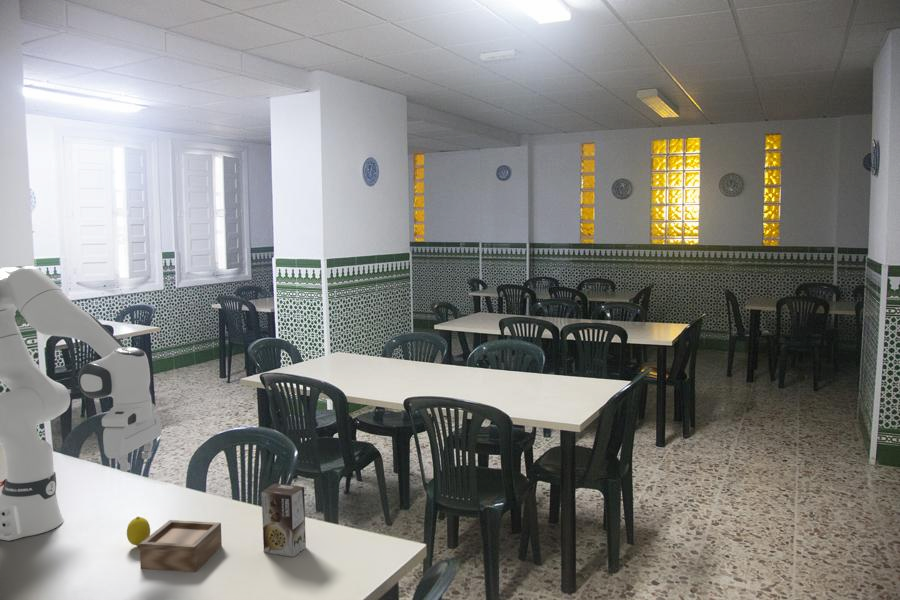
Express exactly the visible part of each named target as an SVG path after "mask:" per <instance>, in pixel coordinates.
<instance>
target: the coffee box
mask: <svg viewBox="0 0 900 600" xmlns="http://www.w3.org/2000/svg"><path fill="white" fill-rule="evenodd" d="M260 494H261V511H262V512H261V515H262V538H263V539H262V540H263V542H262V543H263V553H267V554H271V555H272V554H274V555H278V554H279V555H280V556H284V557H291V558H293V557H295V556H297V555H298V554H300V553H301V552H302V551H303V550H304V549H306V548H305V547H307V545H306V544H307V543H306V539H307V538H306V510H305V509H306V506H305V500H306V499H305V486H300V485H293V484H292V485H291V484H285V483H284V484H283V483H273V484H271V485H270V486H268V487H267V488H265V489H264V490H263V491H261V493H260ZM300 551H301V552H300Z"/></svg>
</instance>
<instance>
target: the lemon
mask: <svg viewBox="0 0 900 600" xmlns="http://www.w3.org/2000/svg"><path fill="white" fill-rule="evenodd" d="M150 535H151V527H150V523H149V521H148V520H147V519H146V518H145V517H141V516H136V517H135V518H133V519H132V520H130V521H129V523H128V525H127V528H126V537H127V541H128V542H129V543H130V544H131V545H132V546H136V547H138V548H140V543H141V542H142V541H144V540H145V539H146V538H148V537H149V536H150Z"/></svg>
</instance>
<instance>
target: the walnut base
mask: <svg viewBox="0 0 900 600" xmlns="http://www.w3.org/2000/svg"><path fill="white" fill-rule="evenodd" d="M222 543H223V542H222V522H212V521H210V522H209V521H198V520H197V521H196V520H195V521H194V520H180V519H179V520H176V519H174V520H173V519H169V520H168V521H167V522H165V523H164V524H163V525H161V526H160V527H159V528H158V529H156V530H155V531H153V532H152V533H150V536H149V537H148V538H146V539H145V540H144V541H142V542H141V543H140V547H139V563H140V564H139V565H140V569H142V568H145V569H144V570H160V571H173V572H192V573H196V572H197V571H198V570H199V569H200V568H201V567H202V566H203V565H204V564H205V563H206V562H207V561H208V560H209V559H210V558H211V557H212V556H213V555H214V554H215V553H216V552H217V551H218V550H219V549H220V548H221V547H222V545H223V544H222Z"/></svg>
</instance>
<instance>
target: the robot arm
mask: <svg viewBox="0 0 900 600" xmlns="http://www.w3.org/2000/svg"><path fill="white" fill-rule="evenodd" d="M17 311H18V312H19V313H20V315H21V316H22V317H23V319H24V320H25V321H26V322H27V324H28V325H29V326H30V327H32V328H33V329H34V330H35V331H37V332H38V333H40V334H42V335H45V336H50V337H51V336H52V337H63V338H64V337H65V338H69V339H70V338H71V339H74V340H75V339H76V340H79V341H82V342H84V343H85V344H87V345H88V346H90V348H92V350H94V352H96V353H97V354H98V355H99V356H100V357H101V358H100V359H97V360H93V361H91V362H89V363H86V364H84V365H82V367H81V368H80V370H79V372H78V376H77V385H78V387H79V390H80V391H81V392H82V394H83V395H84V396H85V397H87V398H89V399H92V400H93V399H98V400H99V399H104V398H107V397H111V398H112V400H113V401H112V402H113V403H112V405H113V406H112V407H111V408H110V410H109V411H108V412H107V413H106V414H105V415H104V416H103V417H102V418H101V426H102V427H103V428H104V427H105V428H104V429H103V432H102V433H103V434H102V440H103V441H102V442H103V443H102V444H103V452H104V455H105V456H106V458H108V459H116V461H117V462H118V464H119V467H120V471H121V472H127V471H129V470H130V469H131V462H128V458H129V457H128V454H130V453H131V452H134V451H136V450H137V449H139V448H140V447H142V446H143V451H142V452H141V459H143V460H149V459H150V458H151V457H152V449H153V446H154V440H155V439H157V438H159V437H161V436H162V433H163V432H162V431H163V428H162V421H161V415H160V412H159V411H158V408H157V405H155V404H154V403H153V401H152V395H151V391H150V385H151V370H150V364H149V359H148V356H147V354H146V352H145V351H144V350H142V349H141V348H139V347H134V346H133V347H132V346H125V345H124V344H123V343H122V342H121V341H120V340H119V339H118V338H117V337H116V336H115V335H114V334H113V333H112V332H111V331H110V330H109V329H108V328H107V327H106V326H105V325H103V324H102V322H100V321H99V320H98V319H97V318H96V317H95V316H93V315H92V314H91V313H89V312H87V311H86V310H84V309H82V308H81V307H80V306H78V305H77V304H76V303H75V302H73V301H72V300H71V299H70V298H69V297H68V296H67V295H66V294H65V293H64V292H63V290H62V289H61V288H60V287H59V285H58V284H56V283H55V281H53V280H52V278H50V277H49V276H48V275H47V274H46V273H45V272H44V271H43V270H41V269H39V267H36V266H29V265H28V266H22V265H21V266H15V267H11V266H10V267H9V266H8V267H0V383H2V384H3V385H4V386H5V387H6V388H7V389H8V390H9V391H5V392H2V393H0V445H1V448H2V451H3V455H4V459H5V461H4V462H5V469H6V470H5V471H6V478H4V480H2V481H0V488H1V487H2V489H1V492H0V540H3V541H9V542H10V541H14V540H17V539H21V538H25V537H30V536H35V535H40V534H42V533H47V532H49V531H51V530H54V529H55V528H58V527H60V526H61V525H62V524H63V523H64V518H63V516H62V513H61V509H60V506H59V501H58V498H57V497H58V496H57V492H56V491H57V476H56V474H57V473H56V472H55V471H54V469H55V468H54V452H53V446H52V444H51V443H49V442H48V441H46V440H43V439H42V438H40V436H39V434H38V431H37V426H39V425H41V424H44V423H46V422H50V421H52V420H54V419H56V418H58V417H59V416H61V415H62V414H64V413H65V412H66V411H67V410H69V407H70V405H71V395H70V392H69V390H68V388H67V387H66V386H65V385H64V384H62V383H60V382H58V381H55V380H53V379H52V378H50V376H48V375H47V374H45V372H44V370H42V369H41V368H40V367H39V365H38V364H37V363H36V362H35V360H34V359H33V357H32V355H31V352H30V350H29V349H28V347H27V344H26V342H25V340H24V337H23V335H22V333H21V330H20V328H19V327H18V323H17V322H16V318H15V317H16V312H17Z"/></svg>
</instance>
